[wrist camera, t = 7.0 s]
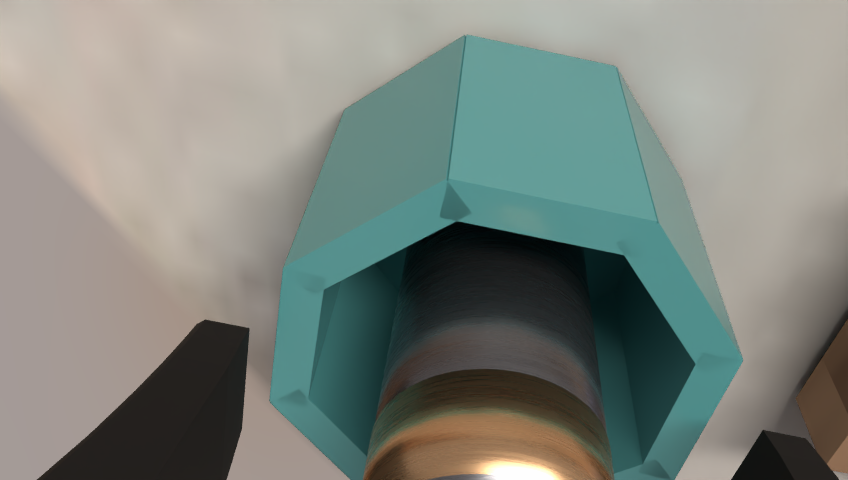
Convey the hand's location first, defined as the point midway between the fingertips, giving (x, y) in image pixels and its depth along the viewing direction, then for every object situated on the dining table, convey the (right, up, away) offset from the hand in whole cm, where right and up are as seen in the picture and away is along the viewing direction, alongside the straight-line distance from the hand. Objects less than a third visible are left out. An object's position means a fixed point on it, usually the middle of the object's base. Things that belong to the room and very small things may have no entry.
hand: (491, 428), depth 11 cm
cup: (+1, +3, +5) cm, 6 cm away
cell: (0, +3, +4) cm, 5 cm away
